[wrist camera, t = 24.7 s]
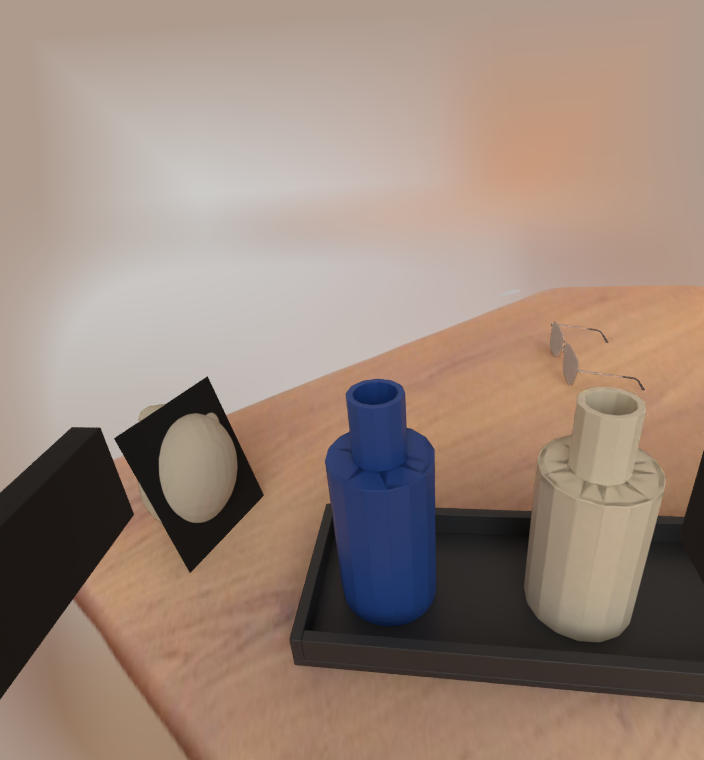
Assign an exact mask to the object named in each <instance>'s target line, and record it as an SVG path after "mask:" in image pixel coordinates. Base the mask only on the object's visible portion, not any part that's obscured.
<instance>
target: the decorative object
mask: <svg viewBox="0 0 704 760" xmlns="http://www.w3.org/2000/svg"><path fill="white" fill-rule="evenodd" d="M114 439H115V441H116V443H117V445H118V446H119V448H120V450H121V452H122V453H123V455H124V457H125V459H126V460H127V462H128V464H129V466H130V468H131V469H132V471H133V473H134V475H135V476H136V478H137V480H138V484H139V491H140V494H141V497H142V500H143V502H144V504H145V506H146V508H147V509H148V511H149V513H150V514H151V515H152V516H153V517H154V518H155V519H156V520H158V521H159V522H161V523H162V524H163V526H164V528H165V529H166V531H167V533H168V535H169V537H170V538H171V540H172V542H173V544H174V545H175V547H176V549H177V551H178V552H179V554H180V556H181V558H182V560H183V561H184V563H185V565H186V567H187V568H188V570H189V572H190V573H191V571H192V570H193V569H194V568H195V567H196V566H197V565H198V564H199V563H200V562H201V561H202V560H203V559H204V558H205V557H206V556H207V555H208V554H209V553H210V552H211V550H212V549H213V548H214V547H215V546H216V545H217V544H218V543H219V542H220V541H221V540H222V539H223V538H224V537H225V536H226V535H227V534H228V533H229V532H230V531H231V529H232V528H233V527H234V526H235V525H236V524H237V523H238V522H239V521H240V520H241V519H242V518H243V517H244V516H245V515H246V514H247V513H248V512H249V511H250V510H251V508H252V507H253V506H254V505H255V504H256V503H257V502H258V501H259V500H260V499H261V498H262V497H263V496H264V495H263V493H262V490H261V488H260V486H259V484H258V482H257V480H256V478H255V476H254V473H253V471H252V469H251V467H250V465H249V463H248V461H247V459H246V457H245V454H244V452H243V450H242V448H241V446H240V444H239V442H238V440H237V438H236V435H235V433H234V431H233V429H232V427H231V425H230V423H229V421H228V419H227V416H226V414H225V412H224V410H223V408H222V406H221V404H220V402H219V399H218V397H217V395H216V393H215V391H214V389H213V387H212V385H211V383H210V381H209V379H208V377H206V378H204V379H203V380H202V381H200V382H198V383H197V384H195V385H194V386H192V387H191V388H189V389H188V390H186V391H185V392H183V393H182V394H180V395H179V396H177V397H176V398H174V399H173V400H171V401H170V402H168V403H167V404H161V405H154V406H149V407H147V408H145V409H144V410H143V411H142V412H141V413H140V415H139V422H138V423H137V424H135V425H134V426H132V427H131V428H129V429H128V430H126V431H125V432H123V433H122V434H120V435H119V436H117V437H116V438H114Z"/></svg>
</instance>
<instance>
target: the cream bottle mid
mask: <svg viewBox="0 0 704 760" xmlns="http://www.w3.org/2000/svg"><path fill="white" fill-rule="evenodd" d="M645 414H646V406H645V402H644V401H643V400H642V399H640V398H639V397H638V396H637V395H635V394H633V393H631V392H628V391H625V390H622V389H619V388H610V387H595V388H588V389H586V390H584V391H582V392H581V393H579V394H578V395H577V403H576V410H575V417H574V424H573V431H572V435H569V436H565V437H561V438H556V439H554V440H553V441H551V442H550V443H548V444H547V445H545V446H544V447H543V448H542V449H541V452H540V454H539V457H538V459H537V468H536V477H535V487H534V496H533V506H532V515H531V524H530V534H529V543H528V553H527V562H526V571H525V581H524V590H525V595H526V600H527V603H528V605H529V606H530V608H531V609H532V611H533V612H534V614H535V615H536V617H537V618H538V619H539V620H540V621H541V622H543V623H544V624H545V625H547V626H548V627H549V628H551V629H552V630H553V631H554V632H556V633H558V634H561V635H563V636H566V637H569V638H571V639H574V640H576V641H585V642H603V641H606V640H609V639H612V638H615V637H618V636H619V635H620V634H621V633H622V632H623V631H624V630H625V629H626V627H627V626H628V625H629V623H630V620H631V616H632V613H633V609H634V605H635V601H636V597H637V593H638V590H639V586H640V582H641V578H642V574H643V570H644V567H645V563H646V559H647V555H648V551H649V547H650V544H651V540H652V536H653V532H654V528H655V524H656V521H657V517H658V513H659V509H660V505H661V501H662V498H663V494H664V490H665V478H666V476H665V474H664V472H663V471H662V469H661V467H660V466H659V464H658V462H657V461H656V460H655V459H653V458H652V457H651V456H649V455H648V454H647V453H645V452H644V451H643V450H641V449H640V448H638V446H639V441H640V437H641V432H642V428H643V423H644V418H645Z"/></svg>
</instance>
